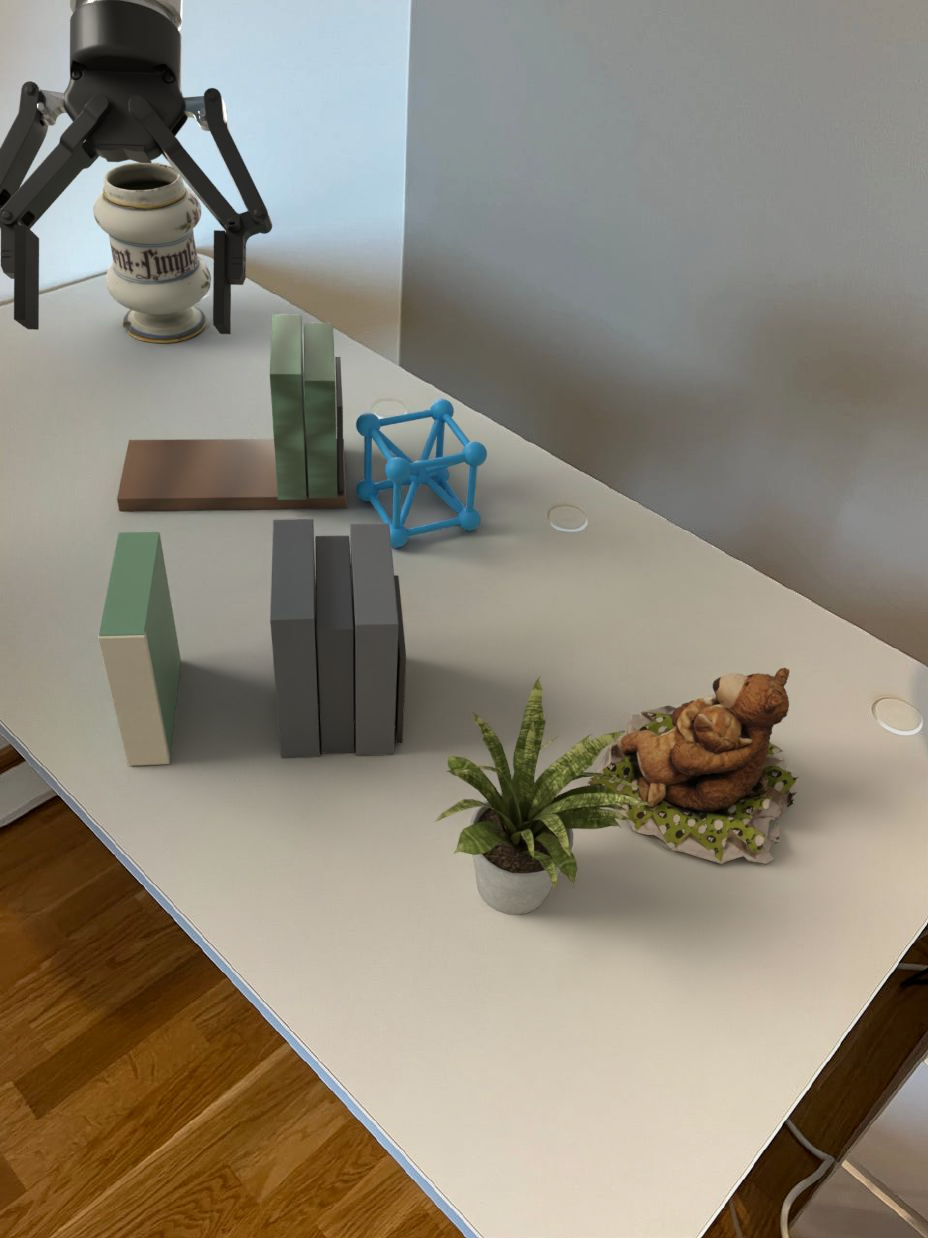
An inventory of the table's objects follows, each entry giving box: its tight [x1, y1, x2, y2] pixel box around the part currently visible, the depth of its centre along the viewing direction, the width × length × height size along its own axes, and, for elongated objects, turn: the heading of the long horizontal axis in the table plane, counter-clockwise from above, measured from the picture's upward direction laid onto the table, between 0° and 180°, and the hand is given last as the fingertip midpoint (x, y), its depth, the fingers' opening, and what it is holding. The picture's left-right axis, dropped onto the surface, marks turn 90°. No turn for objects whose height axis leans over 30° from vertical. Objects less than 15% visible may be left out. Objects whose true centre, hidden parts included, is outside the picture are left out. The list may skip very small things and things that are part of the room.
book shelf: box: [116, 313, 348, 512], centre depth 103 cm, size 22×11×16 cm, turn 96°
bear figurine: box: [587, 667, 799, 865], centre depth 80 cm, size 14×15×12 cm
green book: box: [97, 531, 182, 767], centre depth 81 cm, size 3×11×14 cm, turn 6°
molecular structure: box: [355, 398, 488, 549], centre depth 103 cm, size 10×10×10 cm
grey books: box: [269, 518, 407, 759], centre depth 83 cm, size 10×11×15 cm
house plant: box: [433, 676, 653, 916], centre depth 70 cm, size 14×14×16 cm
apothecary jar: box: [92, 161, 212, 344], centre depth 124 cm, size 12×12×18 cm
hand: (124, 327), depth 75 cm, fingers open, 13 cm apart
